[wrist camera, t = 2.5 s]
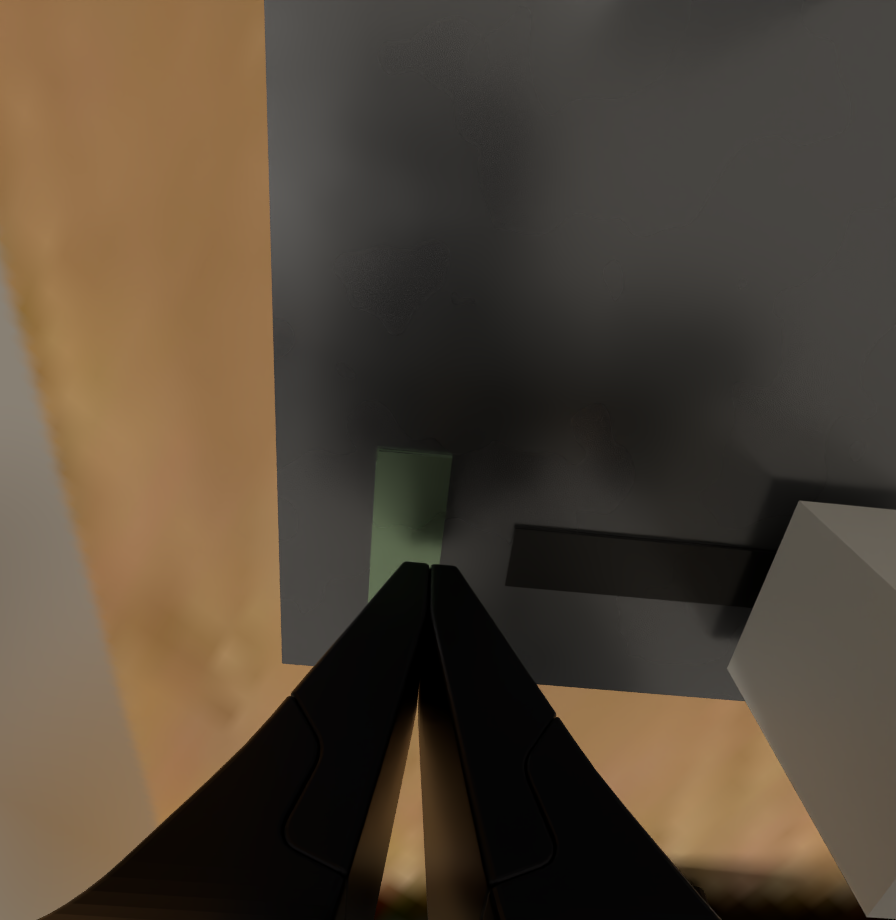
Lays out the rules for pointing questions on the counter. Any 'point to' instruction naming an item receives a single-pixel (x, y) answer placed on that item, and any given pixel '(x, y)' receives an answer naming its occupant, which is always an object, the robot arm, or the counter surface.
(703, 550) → the dark grey flat plate
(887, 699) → the block
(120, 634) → the counter surface
